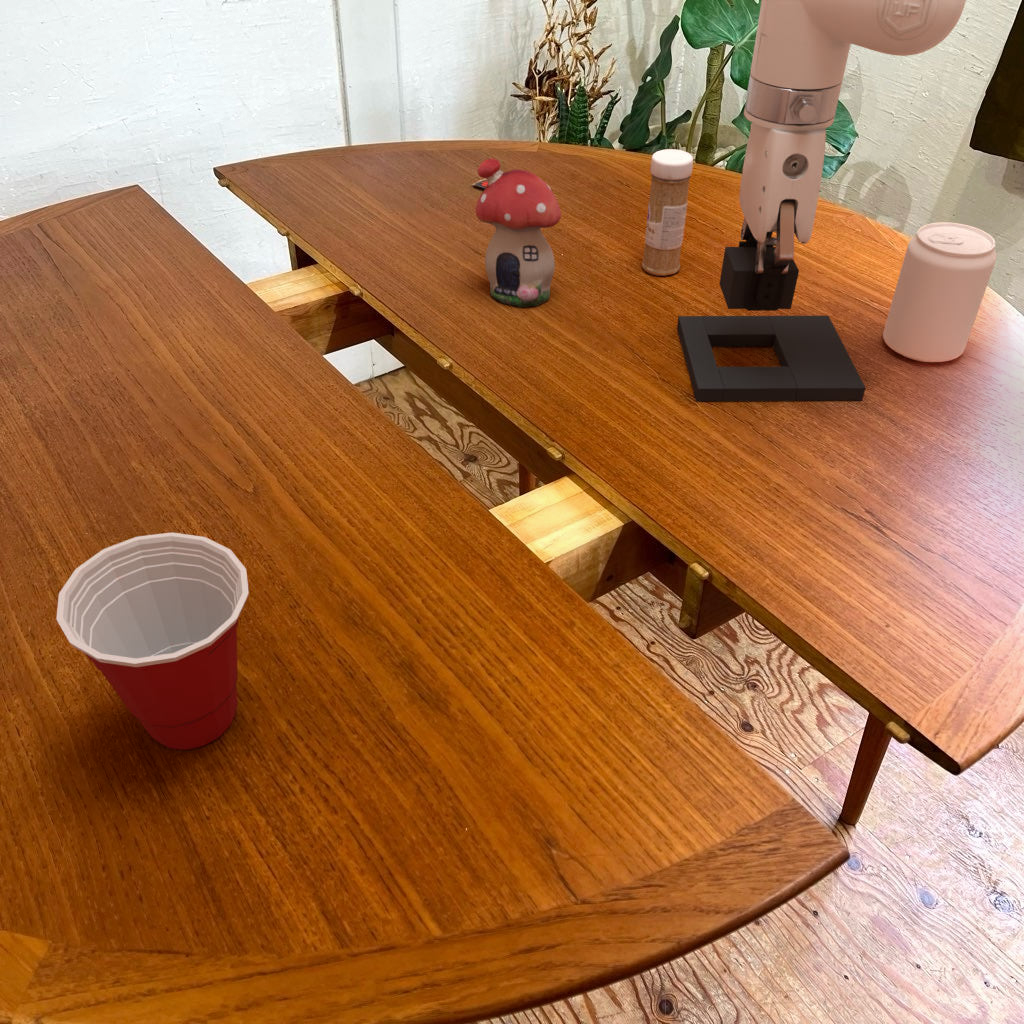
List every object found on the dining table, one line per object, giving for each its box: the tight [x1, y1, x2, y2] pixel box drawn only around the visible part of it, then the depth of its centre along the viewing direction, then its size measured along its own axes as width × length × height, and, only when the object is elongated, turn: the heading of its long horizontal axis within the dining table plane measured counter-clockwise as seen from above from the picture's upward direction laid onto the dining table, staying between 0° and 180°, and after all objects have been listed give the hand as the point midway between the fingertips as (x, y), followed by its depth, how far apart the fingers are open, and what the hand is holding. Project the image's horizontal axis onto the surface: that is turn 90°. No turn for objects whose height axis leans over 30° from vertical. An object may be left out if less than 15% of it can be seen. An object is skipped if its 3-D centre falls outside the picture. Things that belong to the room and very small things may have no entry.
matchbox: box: [470, 178, 488, 189], centre depth 133 cm, size 5×5×1 cm
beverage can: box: [882, 221, 997, 363], centre depth 96 cm, size 8×8×12 cm
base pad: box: [676, 315, 866, 402], centre depth 97 cm, size 16×14×2 cm
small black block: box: [719, 246, 800, 310], centre depth 92 cm, size 6×5×4 cm
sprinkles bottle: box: [641, 148, 694, 277], centre depth 109 cm, size 5×5×13 cm
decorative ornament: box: [475, 157, 562, 308], centre depth 104 cm, size 9×7×15 cm
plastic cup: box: [56, 532, 250, 751], centre depth 60 cm, size 11×11×12 cm
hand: (755, 292), depth 93 cm, fingers closed on small black block, 5 cm apart
